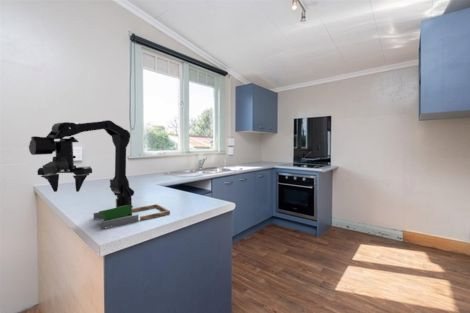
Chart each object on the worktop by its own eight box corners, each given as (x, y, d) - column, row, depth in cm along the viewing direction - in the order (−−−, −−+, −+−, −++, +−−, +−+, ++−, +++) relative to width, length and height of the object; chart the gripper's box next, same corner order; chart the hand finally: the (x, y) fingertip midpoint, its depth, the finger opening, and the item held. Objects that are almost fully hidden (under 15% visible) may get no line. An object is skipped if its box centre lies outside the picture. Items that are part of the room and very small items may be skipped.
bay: (157, 206, 116) (157, 204, 116) (169, 213, 104) (169, 210, 104) (130, 211, 107) (130, 208, 107) (140, 220, 95) (140, 216, 95)
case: (128, 212, 107) (127, 207, 107) (138, 220, 95) (138, 214, 95) (93, 218, 98) (93, 213, 98) (100, 229, 86) (100, 222, 86)
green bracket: (122, 226, 100) (127, 206, 104) (129, 226, 97) (134, 205, 101) (94, 223, 92) (100, 201, 95) (101, 222, 88) (107, 199, 92)
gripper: (22, 155, 83) (25, 196, 84) (72, 154, 83) (74, 196, 84) (48, 153, 94) (50, 190, 95) (92, 153, 94) (93, 189, 95)
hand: (66, 191), depth 92 cm, fingers open, 9 cm apart
